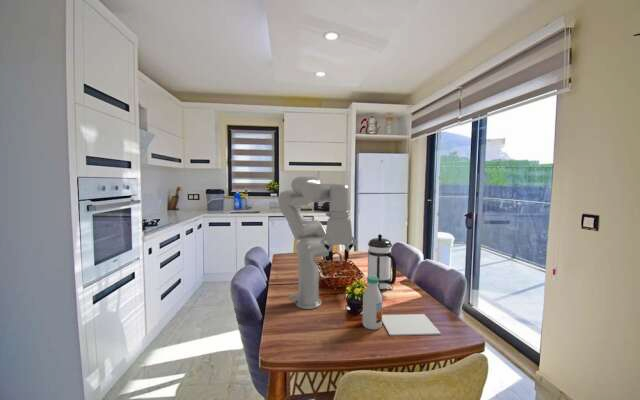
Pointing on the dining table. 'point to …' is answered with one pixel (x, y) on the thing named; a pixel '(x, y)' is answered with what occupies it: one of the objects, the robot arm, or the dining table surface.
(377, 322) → the milk bottle
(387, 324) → the mat
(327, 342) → the dining table surface
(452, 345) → the dining table surface
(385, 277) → the coffee press
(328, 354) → the dining table surface
